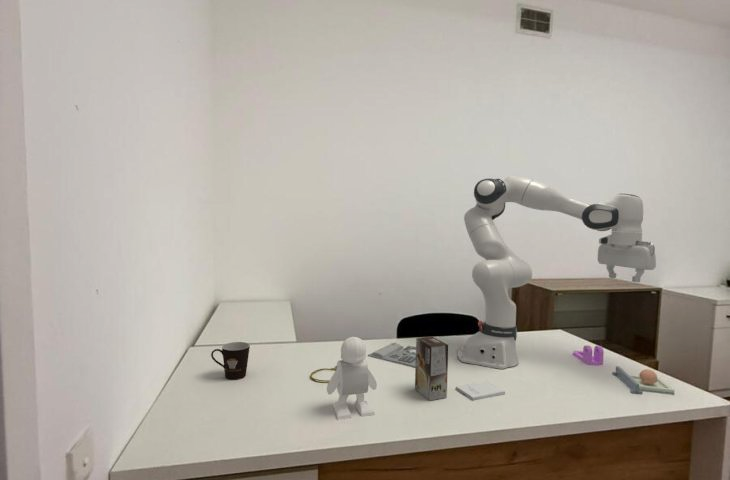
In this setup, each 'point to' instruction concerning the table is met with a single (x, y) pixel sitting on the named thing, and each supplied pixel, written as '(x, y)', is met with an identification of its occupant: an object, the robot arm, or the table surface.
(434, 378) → the coffee box
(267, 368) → the table surface
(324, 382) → the brown hoop
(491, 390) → the external hard drive
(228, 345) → the coffee mug
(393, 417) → the table surface
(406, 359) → the office telephone
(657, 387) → the tray
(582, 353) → the bracket
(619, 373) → the divider
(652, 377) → the ball
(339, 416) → the toy robot
